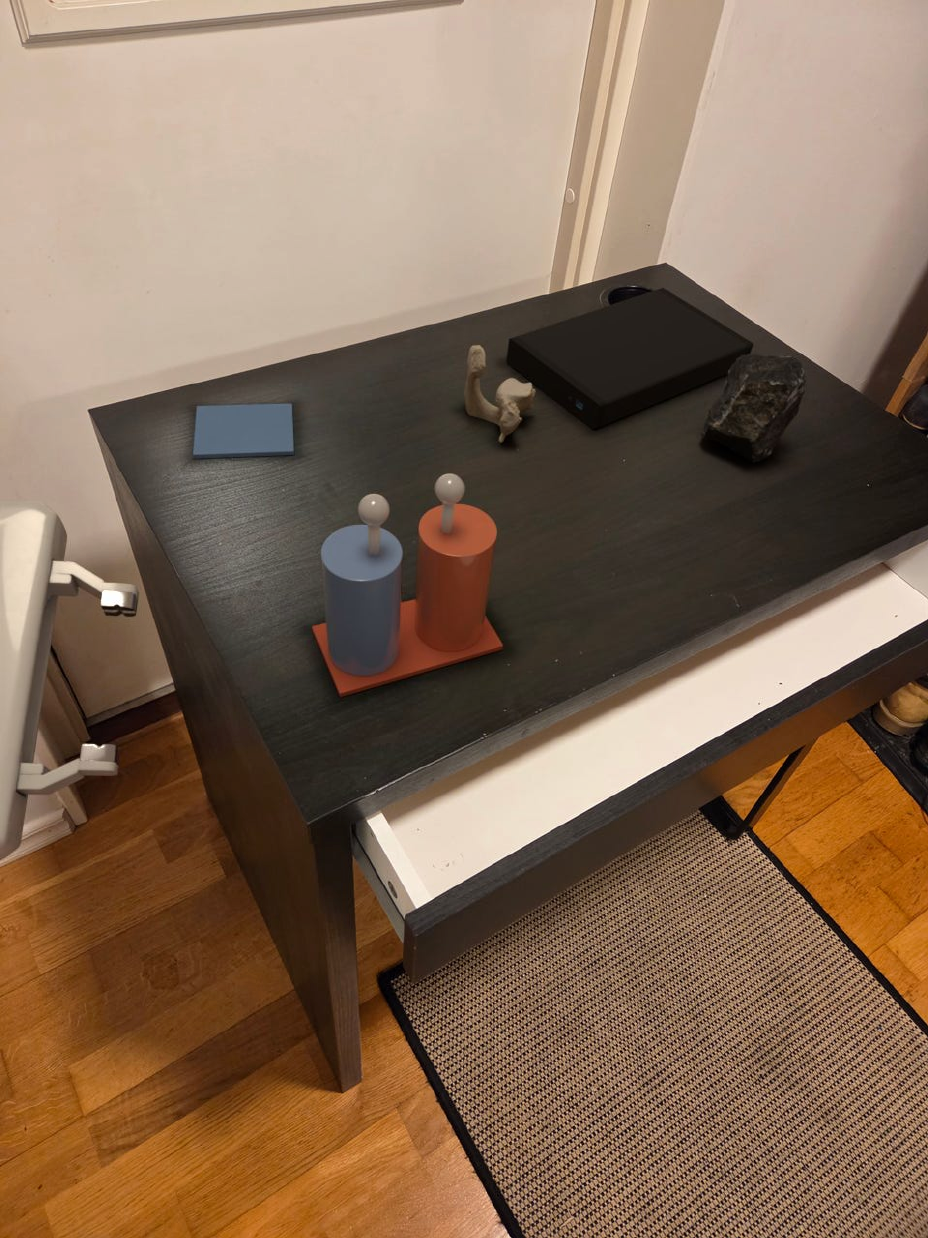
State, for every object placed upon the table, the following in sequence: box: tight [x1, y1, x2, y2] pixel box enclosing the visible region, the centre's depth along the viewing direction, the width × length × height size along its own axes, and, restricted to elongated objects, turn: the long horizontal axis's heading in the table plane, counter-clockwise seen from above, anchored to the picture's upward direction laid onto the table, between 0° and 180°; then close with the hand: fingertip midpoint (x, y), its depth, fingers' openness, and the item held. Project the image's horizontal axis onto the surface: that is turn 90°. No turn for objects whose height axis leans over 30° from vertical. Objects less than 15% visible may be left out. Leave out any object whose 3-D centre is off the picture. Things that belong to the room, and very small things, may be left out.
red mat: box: [311, 598, 504, 698], centre depth 65 cm, size 13×7×1 cm, turn 114°
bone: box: [463, 344, 537, 444], centre depth 82 cm, size 9×6×10 cm
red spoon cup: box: [414, 473, 498, 652], centre depth 61 cm, size 5×5×15 cm
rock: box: [700, 352, 807, 463], centre depth 82 cm, size 8×7×10 cm
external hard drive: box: [506, 287, 754, 430], centre depth 93 cm, size 14×23×3 cm, turn 127°
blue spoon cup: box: [320, 493, 404, 676], centre depth 58 cm, size 5×5×15 cm
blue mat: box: [192, 403, 295, 460], centre depth 81 cm, size 9×8×1 cm
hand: (127, 678), depth 49 cm, fingers open, 8 cm apart
